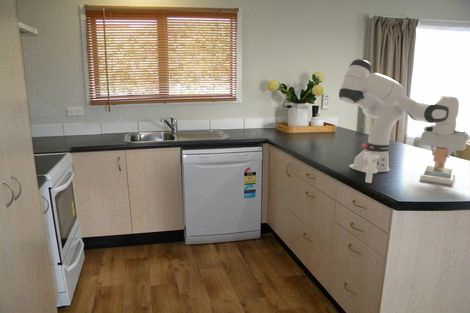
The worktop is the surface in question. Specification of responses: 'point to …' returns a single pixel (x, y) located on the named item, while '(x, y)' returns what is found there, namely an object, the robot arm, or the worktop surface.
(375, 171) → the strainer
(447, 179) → the divided tray
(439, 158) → the terracotta block
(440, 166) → the block
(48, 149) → the worktop surface
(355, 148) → the worktop surface
